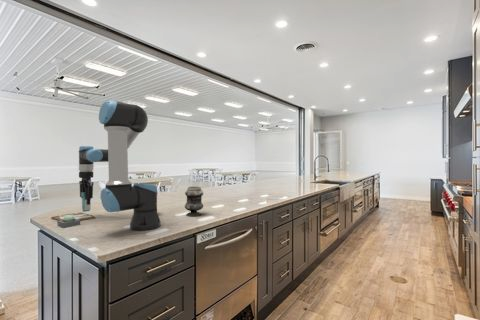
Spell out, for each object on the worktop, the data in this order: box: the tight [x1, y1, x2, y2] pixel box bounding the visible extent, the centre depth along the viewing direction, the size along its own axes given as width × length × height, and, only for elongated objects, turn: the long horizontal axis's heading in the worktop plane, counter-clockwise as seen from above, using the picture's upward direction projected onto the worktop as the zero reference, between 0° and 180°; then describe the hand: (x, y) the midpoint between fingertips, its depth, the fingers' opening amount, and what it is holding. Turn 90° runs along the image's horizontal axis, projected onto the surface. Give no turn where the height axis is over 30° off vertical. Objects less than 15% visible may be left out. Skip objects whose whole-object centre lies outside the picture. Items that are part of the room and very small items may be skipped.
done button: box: [64, 215, 74, 222], centre depth 133 cm, size 4×4×3 cm
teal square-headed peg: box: [80, 192, 91, 213], centre depth 150 cm, size 4×4×11 cm
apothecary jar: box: [184, 186, 204, 217], centre depth 159 cm, size 12×12×18 cm
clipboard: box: [51, 212, 96, 222], centre depth 149 cm, size 20×16×2 cm
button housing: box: [56, 218, 81, 229], centre depth 133 cm, size 8×8×2 cm
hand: (86, 209), depth 150 cm, fingers closed on teal square-headed peg, 4 cm apart
